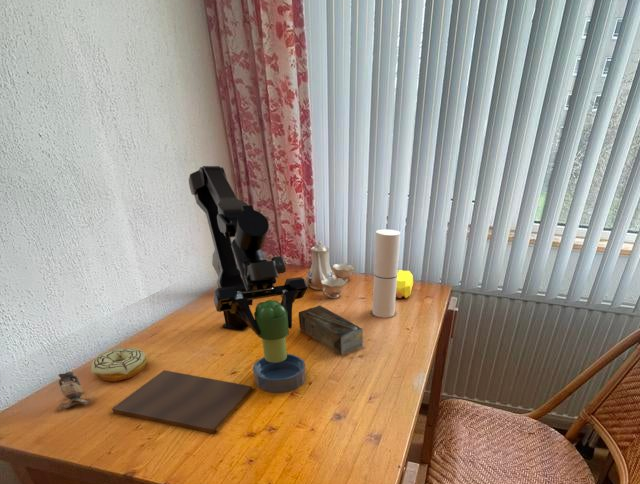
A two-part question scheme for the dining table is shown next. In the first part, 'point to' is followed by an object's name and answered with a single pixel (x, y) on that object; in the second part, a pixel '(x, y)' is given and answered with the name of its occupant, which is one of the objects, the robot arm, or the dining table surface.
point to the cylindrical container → (385, 272)
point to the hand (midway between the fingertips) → (274, 331)
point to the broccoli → (272, 329)
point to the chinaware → (327, 272)
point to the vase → (71, 389)
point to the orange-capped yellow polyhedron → (404, 284)
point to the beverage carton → (331, 329)
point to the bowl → (280, 374)
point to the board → (184, 401)
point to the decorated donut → (118, 364)
